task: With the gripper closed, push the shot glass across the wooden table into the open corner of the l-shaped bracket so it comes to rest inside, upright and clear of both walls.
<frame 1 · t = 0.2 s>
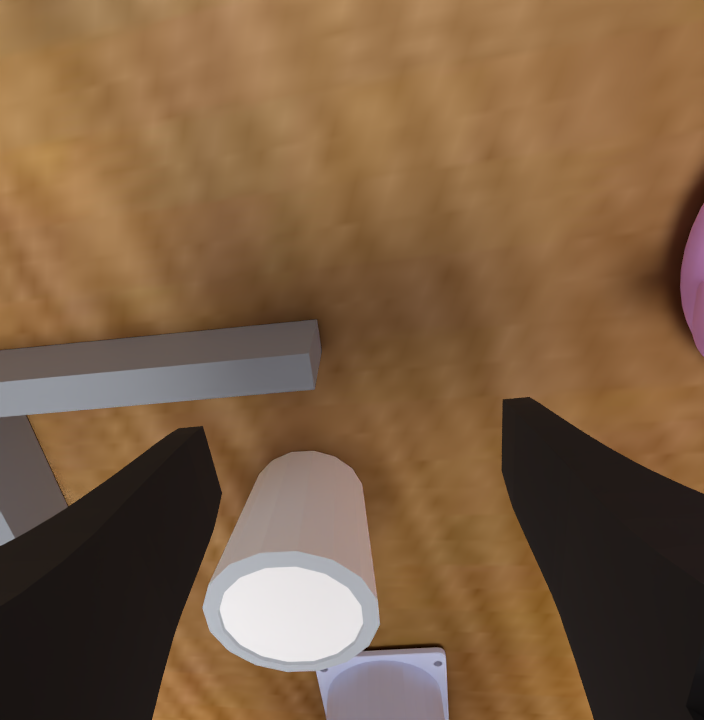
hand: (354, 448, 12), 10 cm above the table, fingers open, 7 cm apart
shot glass: (309, 493, 25), on the table
l-shaped bracket: (185, 505, 26), on the table
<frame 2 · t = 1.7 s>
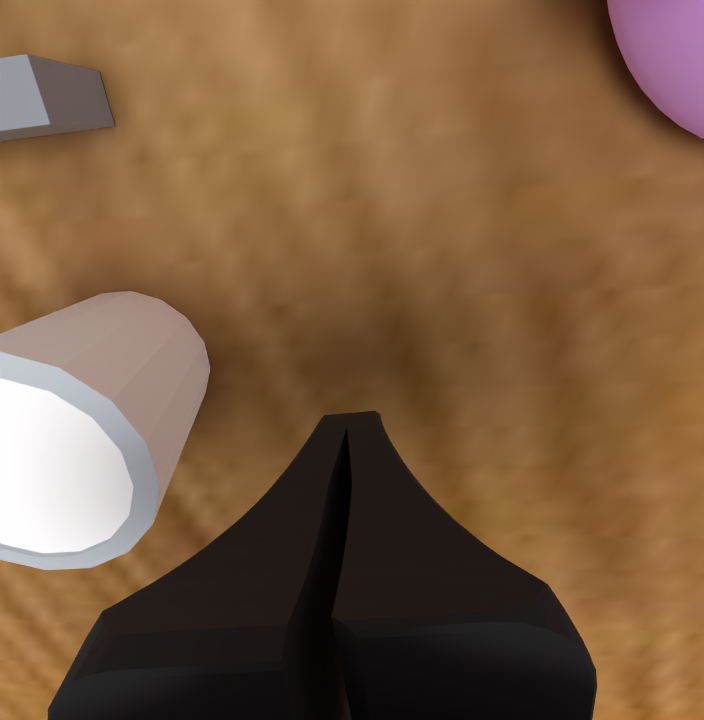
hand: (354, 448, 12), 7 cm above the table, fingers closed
shot glass: (139, 359, 19), on the table
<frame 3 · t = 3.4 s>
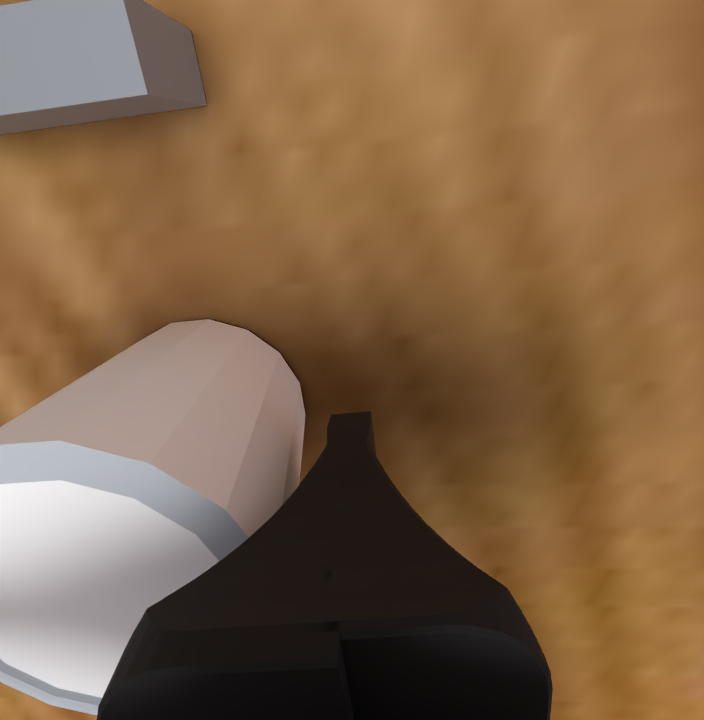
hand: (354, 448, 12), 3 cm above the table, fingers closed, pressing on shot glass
shot glass: (215, 403, 15), on the table, touching gripper
l-shaped bracket: (12, 427, 15), on the table
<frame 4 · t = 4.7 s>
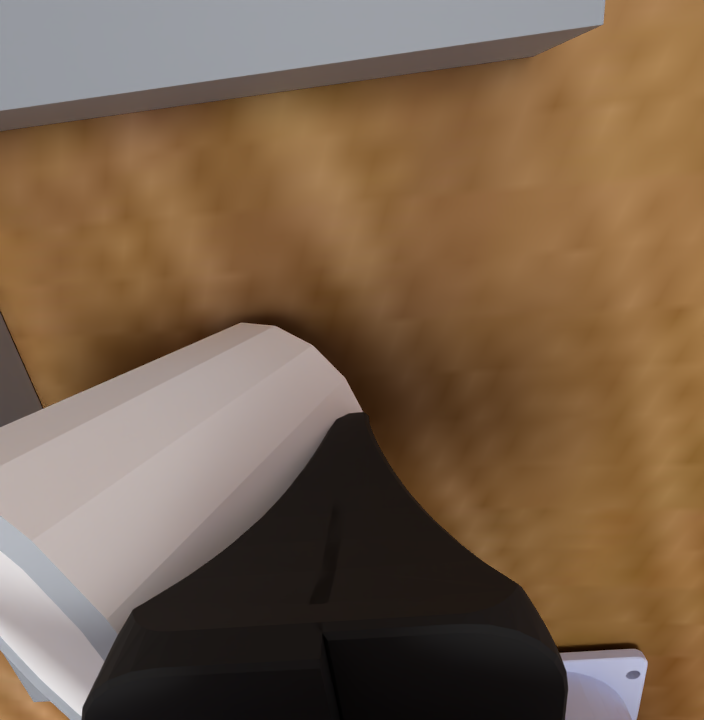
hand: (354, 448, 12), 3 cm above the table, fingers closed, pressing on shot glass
shot glass: (283, 413, 14), point 1 cm above the table, touching gripper
l-shaped bracket: (245, 403, 15), on the table
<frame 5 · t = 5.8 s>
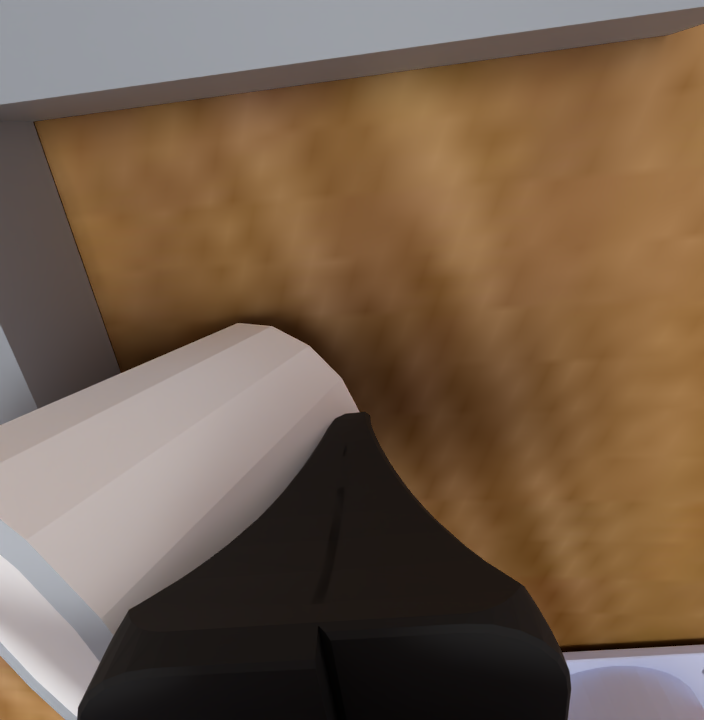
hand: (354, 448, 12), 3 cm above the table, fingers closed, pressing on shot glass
shot glass: (279, 413, 14), point 1 cm above the table, touching gripper
l-shaped bracket: (337, 392, 15), on the table
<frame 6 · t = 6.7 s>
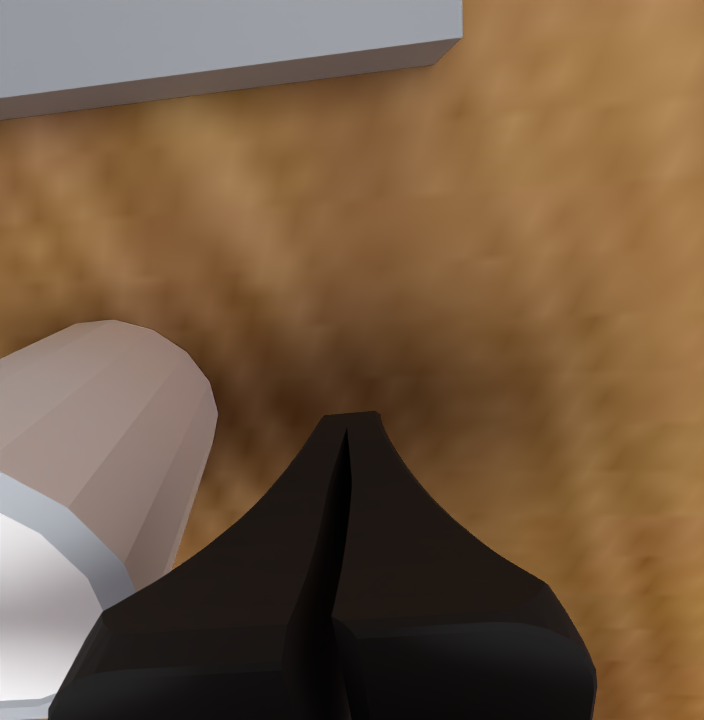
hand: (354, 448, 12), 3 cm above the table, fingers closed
shot glass: (128, 403, 15), on the table
l-shaped bracket: (169, 406, 15), on the table
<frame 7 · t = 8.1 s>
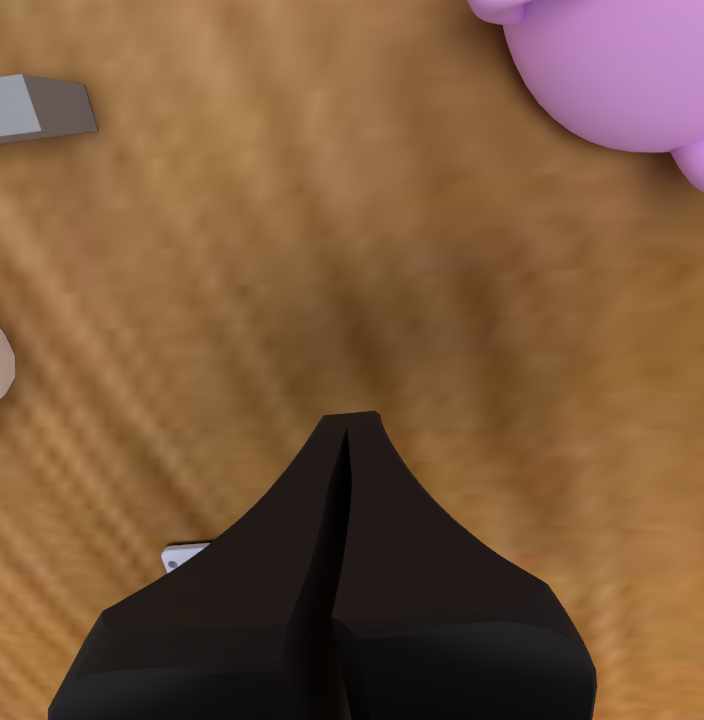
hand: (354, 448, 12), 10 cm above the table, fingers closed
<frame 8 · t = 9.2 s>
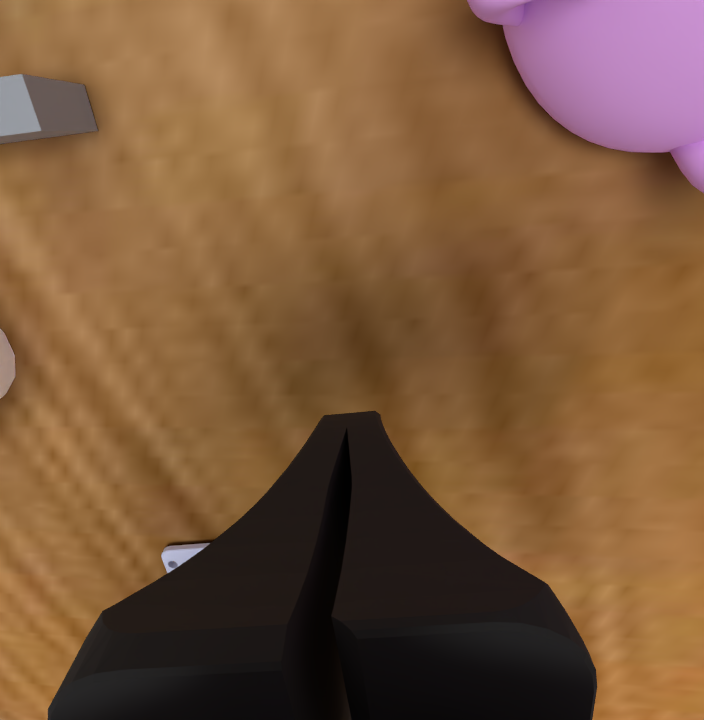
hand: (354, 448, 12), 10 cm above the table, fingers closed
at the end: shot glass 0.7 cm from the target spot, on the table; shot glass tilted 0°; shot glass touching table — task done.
